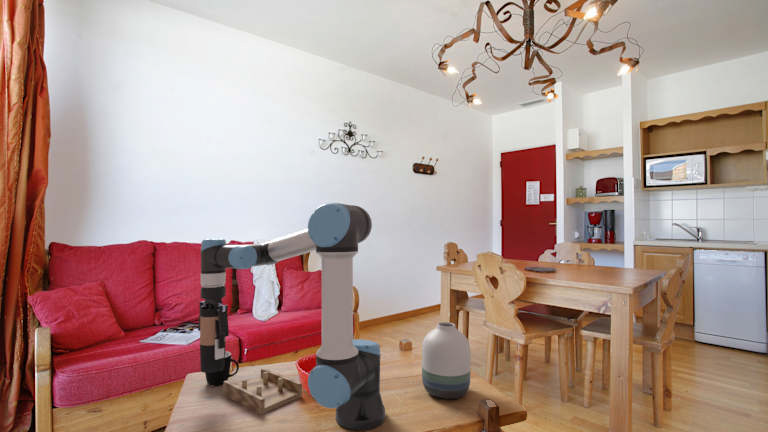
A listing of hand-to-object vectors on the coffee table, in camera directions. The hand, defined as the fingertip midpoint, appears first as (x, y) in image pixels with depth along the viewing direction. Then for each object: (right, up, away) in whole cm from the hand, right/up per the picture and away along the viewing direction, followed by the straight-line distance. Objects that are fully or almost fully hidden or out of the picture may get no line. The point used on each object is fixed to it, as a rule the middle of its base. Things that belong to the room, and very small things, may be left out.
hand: (212, 355), depth 123 cm
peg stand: (+14, -16, +6) cm, 22 cm away
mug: (-4, -16, +16) cm, 23 cm away
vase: (+78, -17, +10) cm, 80 cm away
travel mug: (0, -4, 0) cm, 4 cm away
